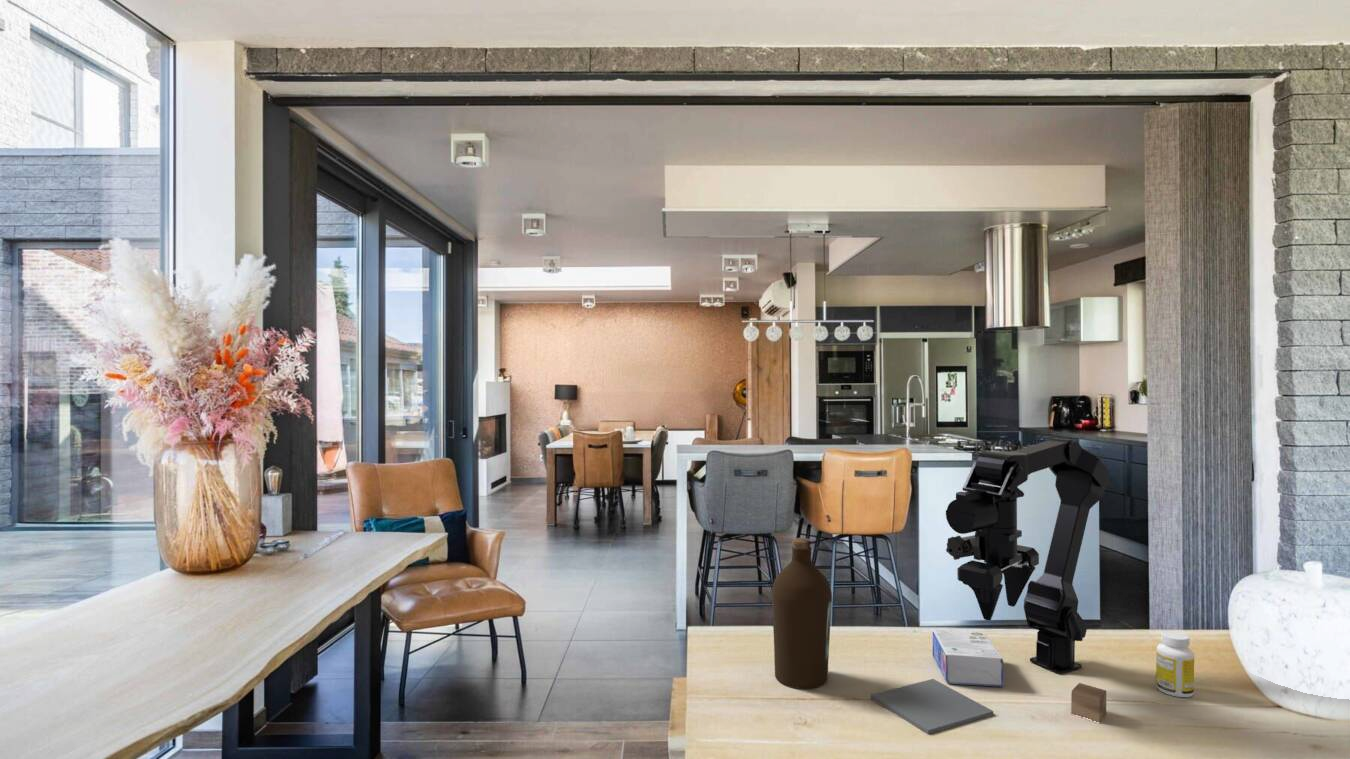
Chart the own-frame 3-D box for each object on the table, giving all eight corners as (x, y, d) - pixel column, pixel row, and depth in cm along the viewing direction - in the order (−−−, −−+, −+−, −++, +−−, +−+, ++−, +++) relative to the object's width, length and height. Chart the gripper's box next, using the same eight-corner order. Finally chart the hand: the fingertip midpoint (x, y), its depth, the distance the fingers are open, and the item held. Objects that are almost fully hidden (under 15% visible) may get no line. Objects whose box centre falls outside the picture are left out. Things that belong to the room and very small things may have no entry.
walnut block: (1078, 706, 121) (1079, 682, 120) (1106, 714, 118) (1106, 690, 118) (1071, 715, 118) (1071, 690, 118) (1098, 723, 115) (1099, 698, 115)
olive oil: (776, 691, 126) (777, 548, 125) (767, 665, 136) (767, 532, 136) (838, 690, 126) (838, 547, 125) (823, 664, 137) (824, 532, 136)
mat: (933, 682, 129) (933, 678, 129) (993, 714, 118) (993, 711, 118) (870, 698, 123) (870, 694, 123) (927, 734, 112) (927, 730, 112)
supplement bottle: (1189, 687, 127) (1191, 632, 127) (1197, 701, 122) (1198, 643, 122) (1153, 681, 129) (1154, 627, 129) (1158, 694, 125) (1159, 638, 124)
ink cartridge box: (1004, 689, 127) (982, 653, 141) (1005, 658, 127) (983, 625, 141) (944, 685, 128) (928, 650, 143) (945, 654, 128) (929, 622, 142)
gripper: (979, 508, 139) (980, 588, 140) (928, 526, 127) (929, 614, 128) (1040, 517, 131) (1040, 603, 131) (991, 538, 118) (992, 632, 119)
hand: (999, 612), depth 128 cm, fingers open, 9 cm apart
